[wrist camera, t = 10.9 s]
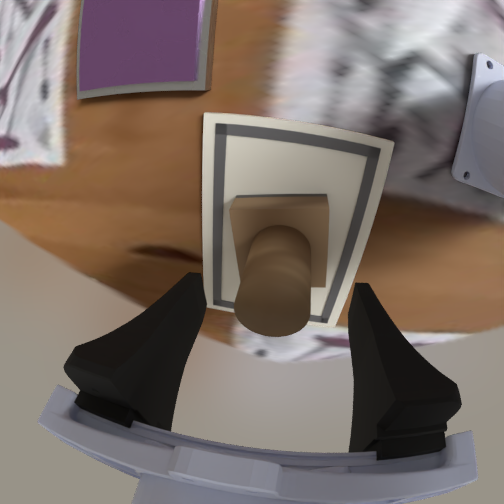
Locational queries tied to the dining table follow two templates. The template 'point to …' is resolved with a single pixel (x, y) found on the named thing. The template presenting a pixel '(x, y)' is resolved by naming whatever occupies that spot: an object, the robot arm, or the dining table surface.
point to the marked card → (289, 182)
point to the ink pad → (144, 46)
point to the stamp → (279, 259)
